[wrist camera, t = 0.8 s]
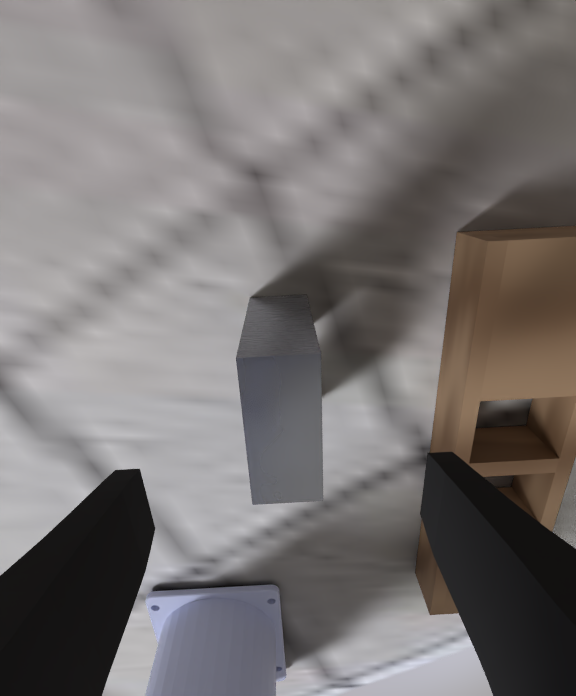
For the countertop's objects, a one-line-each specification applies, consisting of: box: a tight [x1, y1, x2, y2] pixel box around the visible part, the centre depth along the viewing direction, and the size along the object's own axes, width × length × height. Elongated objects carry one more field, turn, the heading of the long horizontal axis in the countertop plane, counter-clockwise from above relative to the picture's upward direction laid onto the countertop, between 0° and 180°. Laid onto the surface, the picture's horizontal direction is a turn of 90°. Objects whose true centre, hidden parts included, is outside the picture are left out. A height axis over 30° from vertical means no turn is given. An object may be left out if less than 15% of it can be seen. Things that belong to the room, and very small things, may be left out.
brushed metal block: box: [236, 295, 323, 505], centre depth 15 cm, size 6×2×6 cm, turn 3°
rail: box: [415, 226, 576, 615], centre depth 18 cm, size 20×5×2 cm, turn 3°
